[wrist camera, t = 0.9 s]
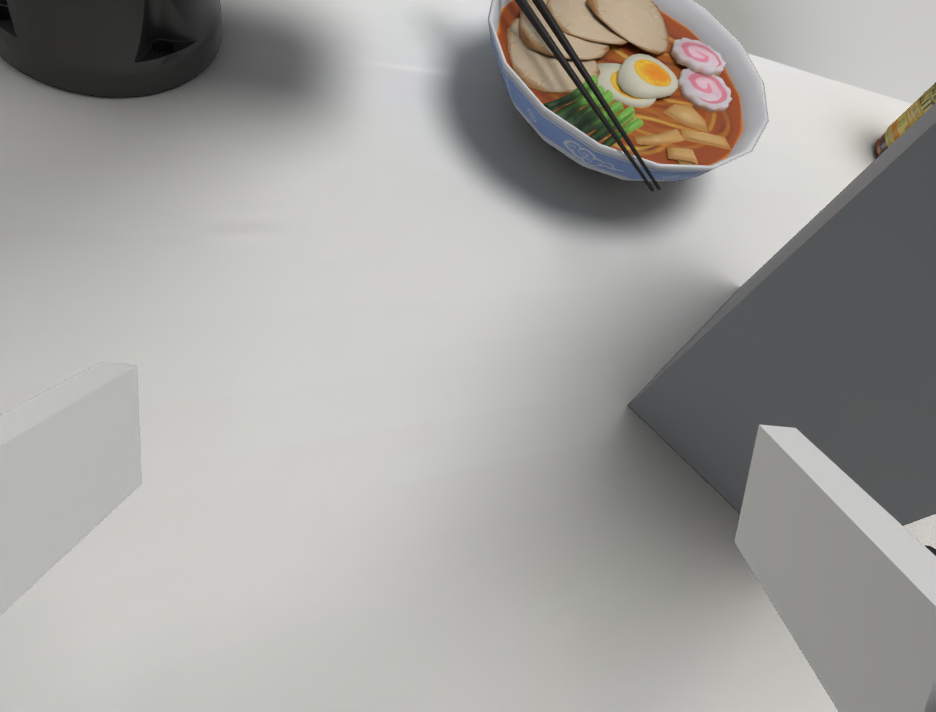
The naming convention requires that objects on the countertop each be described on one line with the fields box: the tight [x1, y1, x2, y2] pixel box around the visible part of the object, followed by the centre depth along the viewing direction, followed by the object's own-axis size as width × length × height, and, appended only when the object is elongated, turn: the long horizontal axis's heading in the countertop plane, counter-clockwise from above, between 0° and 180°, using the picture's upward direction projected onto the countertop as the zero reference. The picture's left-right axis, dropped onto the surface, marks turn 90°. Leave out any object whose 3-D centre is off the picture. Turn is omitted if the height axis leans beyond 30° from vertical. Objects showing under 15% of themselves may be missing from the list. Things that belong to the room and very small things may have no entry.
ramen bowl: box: [488, 0, 769, 191], centre depth 57 cm, size 25×23×8 cm
